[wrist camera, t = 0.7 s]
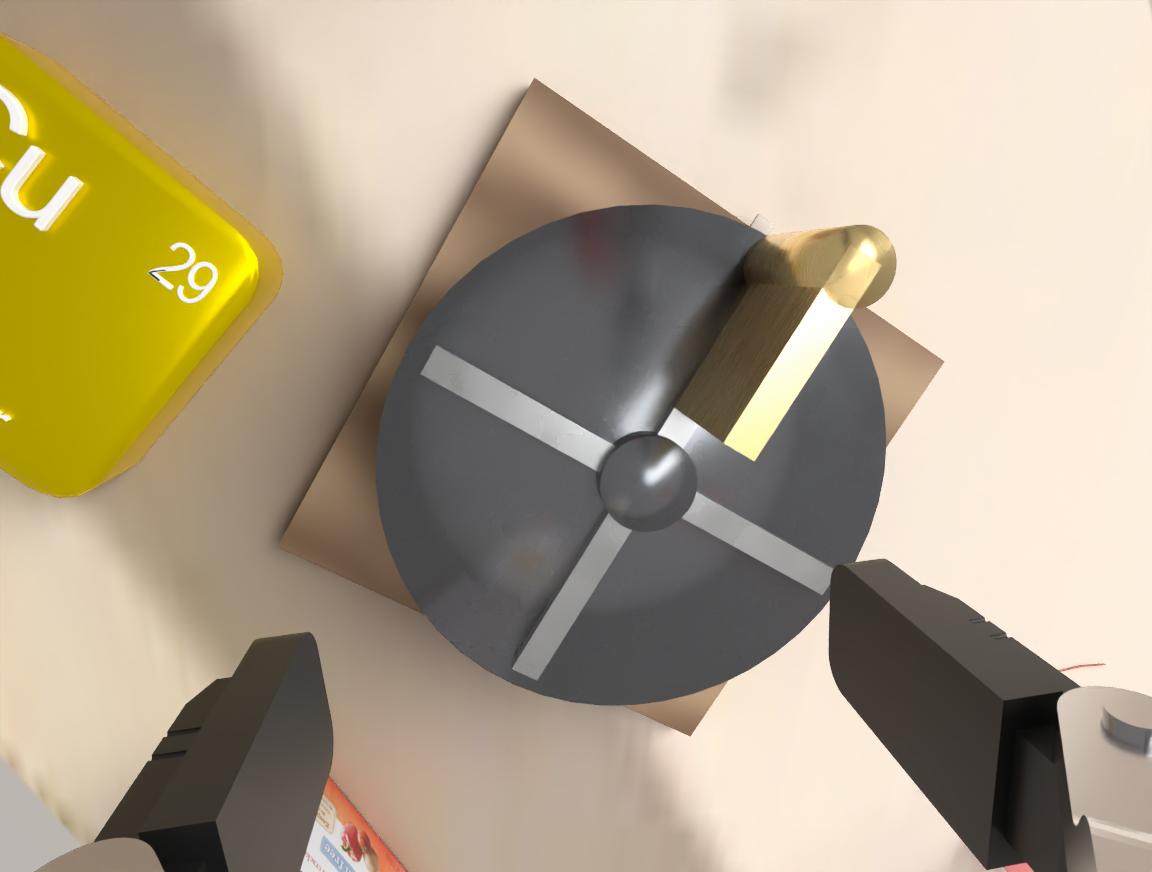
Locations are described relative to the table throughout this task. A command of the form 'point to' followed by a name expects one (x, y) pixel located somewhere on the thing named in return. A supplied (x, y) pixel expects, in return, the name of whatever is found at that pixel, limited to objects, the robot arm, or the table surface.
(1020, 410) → the table surface
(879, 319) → the winch base
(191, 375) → the element tile
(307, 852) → the cracker box
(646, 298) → the handwheel
